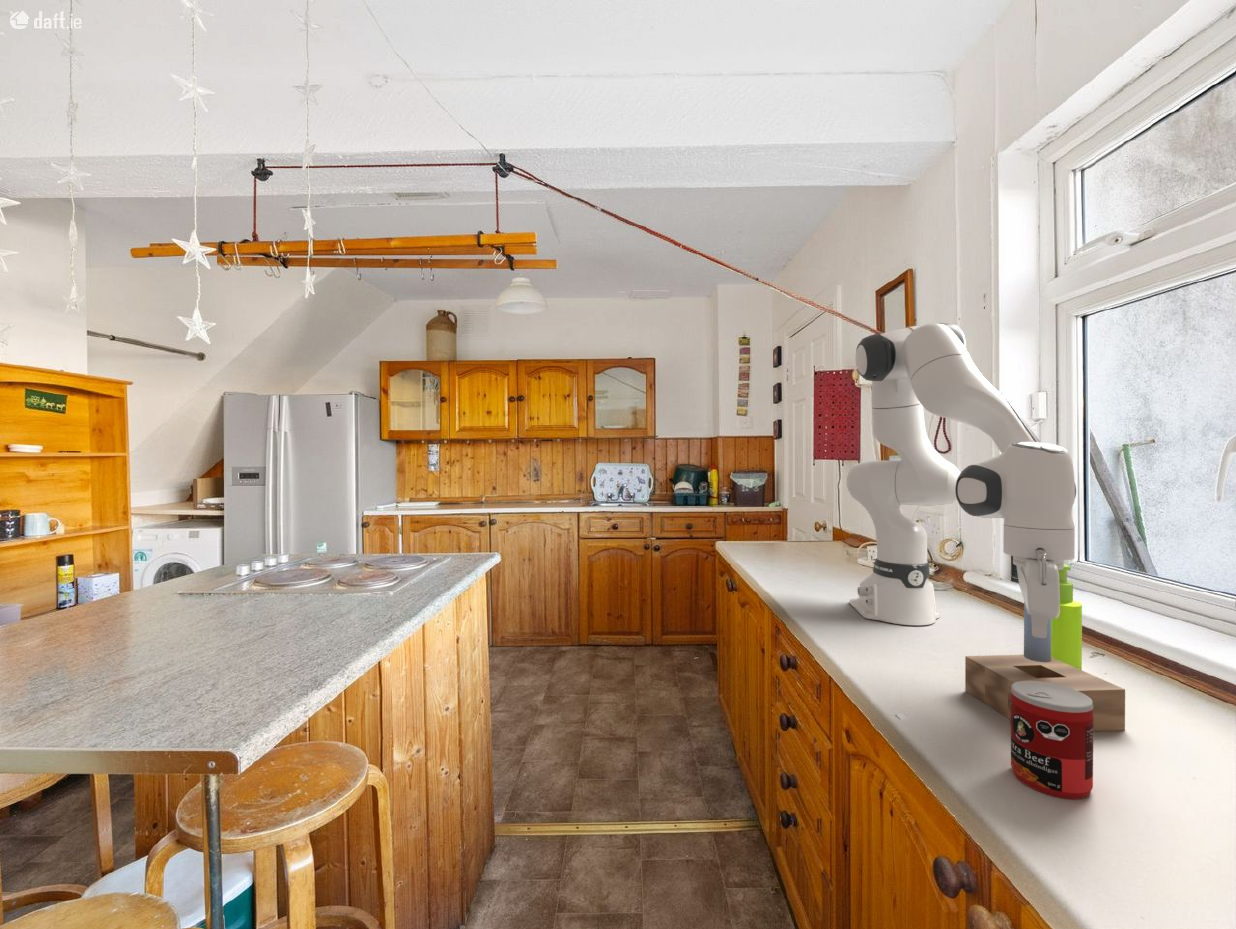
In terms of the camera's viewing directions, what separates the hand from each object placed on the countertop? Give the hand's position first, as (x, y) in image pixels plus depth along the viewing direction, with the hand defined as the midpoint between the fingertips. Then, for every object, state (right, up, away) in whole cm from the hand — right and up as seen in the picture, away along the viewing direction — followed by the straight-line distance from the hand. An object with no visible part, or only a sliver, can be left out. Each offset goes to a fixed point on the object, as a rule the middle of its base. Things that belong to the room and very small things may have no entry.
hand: (1037, 632), depth 84 cm
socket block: (0, -12, 0) cm, 12 cm away
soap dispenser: (+16, -12, +15) cm, 25 cm away
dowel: (0, -4, 0) cm, 4 cm away
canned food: (-13, -13, -18) cm, 26 cm away
